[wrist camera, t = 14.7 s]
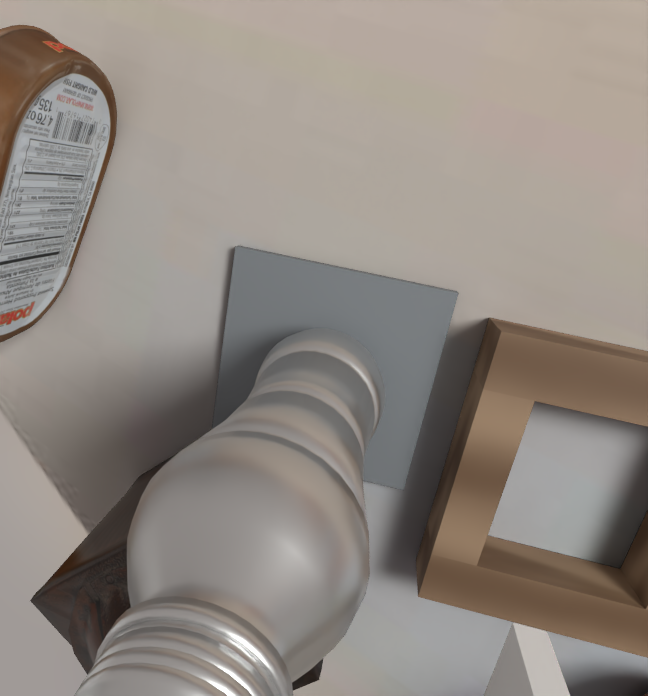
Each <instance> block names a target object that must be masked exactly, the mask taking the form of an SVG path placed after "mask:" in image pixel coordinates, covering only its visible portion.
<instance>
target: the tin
mask: <svg viewBox="0 0 648 696" xmlns="http://www.w3.org/2000/svg"><path fill="white" fill-rule="evenodd" d="M116 124H117V110H116V102H115V97H114V93H113V90H112V87H111V85H110V83H109V81H108V79H107V77H106V76H105V74H104V73H103V72H102V71H101V70H100V69H99V68H98V67H97V65H96V64H95V63H93V62H92V61H91V60H90V59H89V58H87V57H86V56H84V55H82V54H81V53H79V52H77V51H75V50H73V49H72V48H70V47H68V46H66V45H64V44H62V43H60V42H59V41H58V40H57V39H56V38H55V37H53V36H52V35H51V34H49V33H48V32H46V31H44V30H42V29H40V28H37V27H34V26H27V25H15V26H10V27H6V28H2V29H0V342H2V341H5V340H7V339H9V338H11V337H13V336H15V335H17V334H19V333H21V332H23V331H25V330H27V329H28V328H30V327H31V326H33V325H34V324H35V323H36V322H37V321H38V320H39V319H40V318H41V317H42V316H43V315H44V314H45V313H46V312H47V311H48V309H49V308H50V307H51V306H52V304H53V303H54V302H55V300H56V299H57V297H58V296H59V294H60V293H61V291H62V289H63V287H64V286H65V284H66V281H67V279H68V277H69V275H70V272H71V270H72V267H73V264H74V261H75V258H76V256H77V253H78V250H79V247H80V244H81V241H82V238H83V235H84V233H85V230H86V227H87V224H88V221H89V218H90V215H91V212H92V209H93V207H94V204H95V201H96V198H97V195H98V192H99V189H100V186H101V183H102V180H103V177H104V174H105V171H106V168H107V165H108V162H109V159H110V156H111V152H112V149H113V145H114V140H115V135H116Z"/></svg>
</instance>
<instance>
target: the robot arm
mask: <svg viewBox="0 0 648 696" xmlns="http://www.w3.org/2000/svg"><path fill="white" fill-rule="evenodd" d="M484 696H570V694H569V691H568V688H567V685H566V683H565V680H564V677H563V674H562V672H561V669H560V666H559V663H558V661H557V658H556V655H555V652H554V649H553V647H552V644H551V641H550V638H549V636H548V633H547V632H546V631H543V630H539V629H535V628H531V627H527V626H524V625H520V624H516V623H512V626H511V628H510V631H509V633H508V636H507V638H506V641H505V643H504V646H503V649H502V651H501V654H500V656H499V659H498V661H497V664H496V666H495V669H494V671H493V674H492V676H491V679H490V681H489V684H488V686H487V689H486V691H485V694H484Z"/></svg>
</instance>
